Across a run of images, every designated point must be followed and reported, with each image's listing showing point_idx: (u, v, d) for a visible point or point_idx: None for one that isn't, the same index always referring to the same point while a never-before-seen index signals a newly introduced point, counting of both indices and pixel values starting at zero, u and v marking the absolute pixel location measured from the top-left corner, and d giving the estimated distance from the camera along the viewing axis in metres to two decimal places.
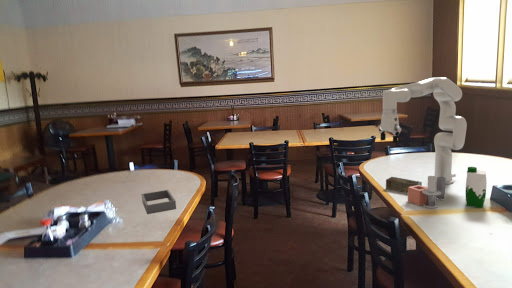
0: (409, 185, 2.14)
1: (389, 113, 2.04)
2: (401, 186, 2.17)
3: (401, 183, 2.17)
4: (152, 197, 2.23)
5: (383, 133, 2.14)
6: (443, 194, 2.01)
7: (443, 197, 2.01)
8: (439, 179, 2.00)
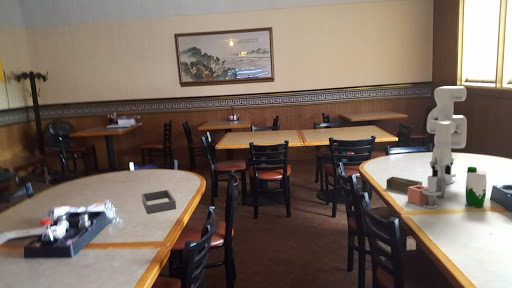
0: (409, 185, 2.14)
1: (450, 145, 1.96)
2: (401, 186, 2.17)
3: (401, 183, 2.17)
4: (152, 197, 2.23)
5: None
6: (443, 194, 2.01)
7: (443, 197, 2.01)
8: (439, 179, 2.00)
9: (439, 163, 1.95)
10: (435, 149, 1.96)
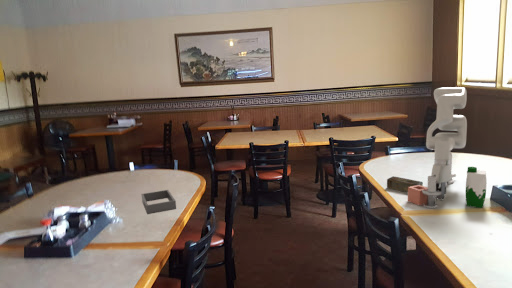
0: (409, 185, 2.14)
1: (449, 163, 1.98)
2: (401, 186, 2.18)
3: (402, 183, 2.17)
4: (152, 197, 2.23)
5: None
6: (443, 194, 2.01)
7: (443, 197, 2.01)
8: None
9: (438, 180, 1.97)
10: (434, 166, 1.98)
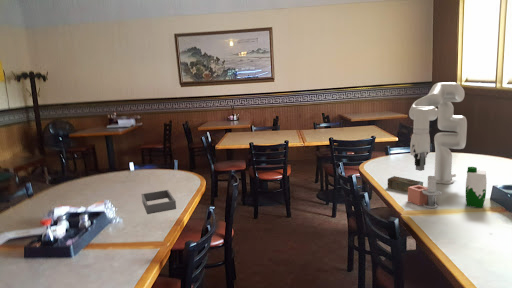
0: (410, 185, 2.14)
1: (428, 132, 1.91)
2: (402, 186, 2.18)
3: (402, 182, 2.18)
4: (152, 197, 2.23)
5: None
6: (423, 165, 1.94)
7: (423, 168, 1.94)
8: None
9: (417, 150, 1.90)
10: (413, 136, 1.91)
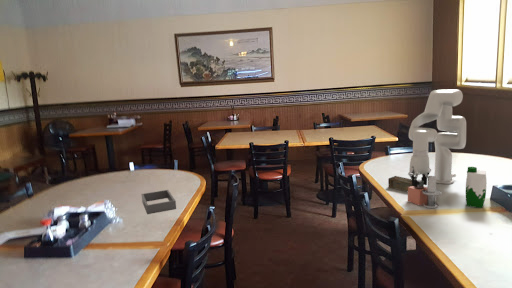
0: (410, 184, 2.15)
1: None
2: (402, 185, 2.18)
3: (402, 182, 2.18)
4: (152, 197, 2.23)
5: None
6: None
7: None
8: (417, 182, 1.96)
9: (416, 172, 1.92)
10: (412, 158, 1.93)
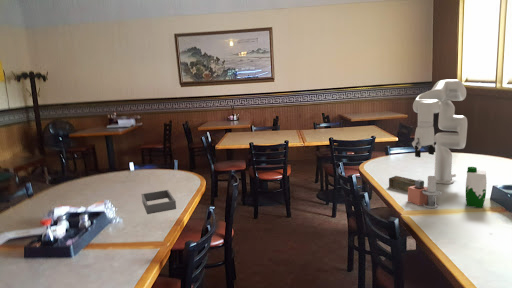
0: (410, 184, 2.15)
1: None
2: (403, 185, 2.19)
3: (403, 182, 2.18)
4: (152, 197, 2.23)
5: None
6: None
7: None
8: (417, 182, 1.96)
9: (421, 143, 1.92)
10: (417, 129, 1.93)
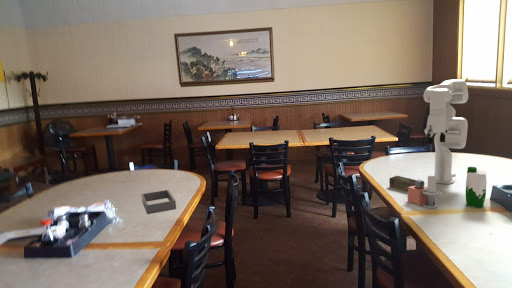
0: (410, 184, 2.15)
1: (444, 113, 1.99)
2: (403, 185, 2.19)
3: (403, 182, 2.19)
4: (152, 197, 2.23)
5: None
6: None
7: None
8: (417, 182, 1.96)
9: (434, 130, 1.99)
10: (430, 117, 1.99)
